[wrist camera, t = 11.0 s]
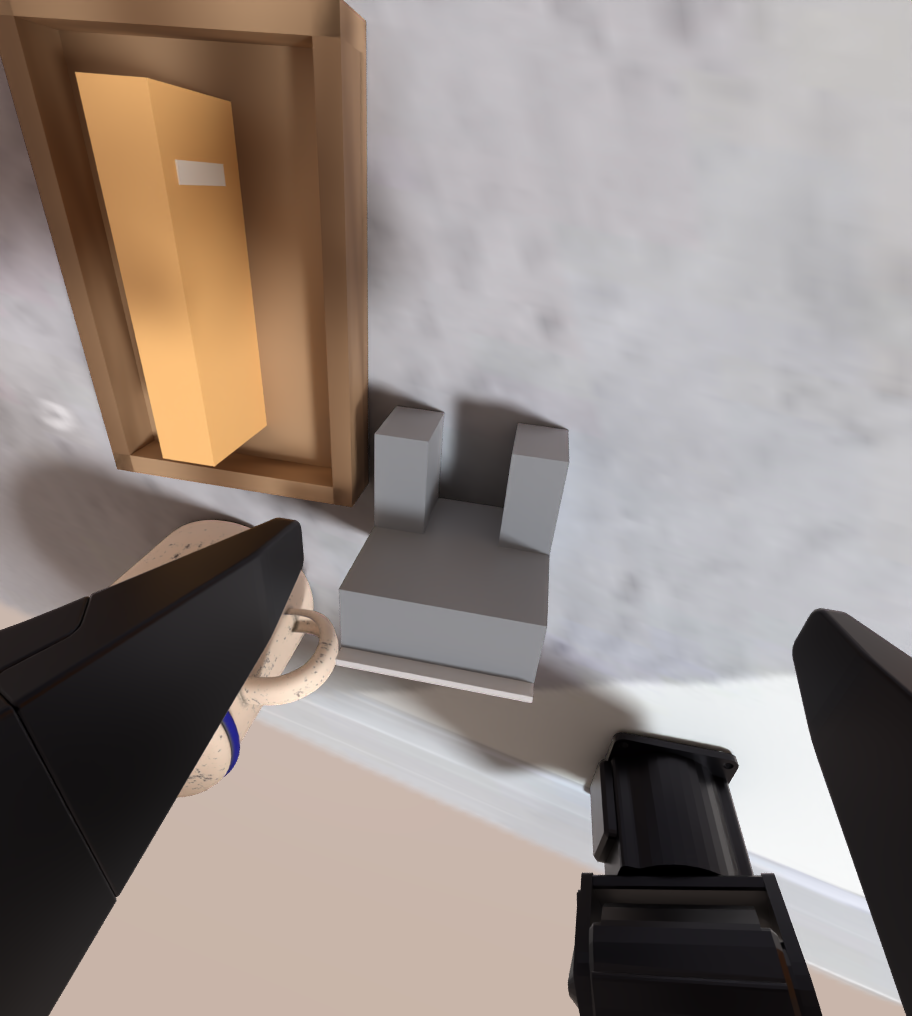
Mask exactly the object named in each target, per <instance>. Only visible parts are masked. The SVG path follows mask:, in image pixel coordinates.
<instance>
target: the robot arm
mask: <svg viewBox="0 0 912 1016" xmlns="http://www.w3.org/2000/svg"><path fill="white" fill-rule="evenodd" d="M303 561H304V554H303V542H302V531H301V526H300V523H299V522H298V521H296V520H290V519H285V518H275V519H272V520H270V521H267V522H265V523H262V524H260V525H258V526H255V527H253V528H250V529H248V530H246V531H243V532H241V533H238V534H236V535H234V536H231V537H229V538H226V539H224V540H221V541H219V542H217V543H214V544H212V545H209V546H207V547H205V548H202V549H200V550H197V551H195V552H192V553H190V554H188V555H185V556H183V557H180V558H178V559H176V560H173V561H171V562H168V563H166V564H163V565H161V566H159V567H156V568H154V569H151V570H149V571H147V572H144V573H142V574H139V575H137V576H134V577H132V578H130V579H127V580H125V581H122V582H120V583H118V584H115V585H113V586H110V587H108V588H106V589H103V590H101V591H98V592H96V593H93V594H92V595H91V596H90V598H89V597H83V598H81V599H79V600H76V601H74V602H72V603H69V604H67V605H64V606H62V607H59V608H57V609H54V610H52V611H49V612H47V613H44V614H42V615H39V616H37V617H34V618H32V619H29V620H27V621H24V622H22V623H19V624H16V625H13V626H10V627H8V628H5V629H2V630H0V1016H49V1014H50V1012H51V1011H52V1009H53V1007H54V1006H55V1004H56V1002H57V1001H58V999H59V997H60V996H61V994H62V992H63V990H64V989H65V987H66V985H67V984H68V982H69V980H70V979H71V977H72V975H73V973H74V972H75V970H76V968H77V967H78V965H79V963H80V962H81V960H82V958H83V957H84V955H85V953H86V952H87V950H88V948H89V946H90V945H91V943H92V941H93V940H94V938H95V936H96V935H97V933H98V931H99V929H100V928H101V926H102V924H103V923H104V921H105V919H106V918H107V916H108V914H109V912H110V911H111V909H112V907H113V906H114V904H115V902H116V897H117V896H119V895H120V893H121V891H122V890H123V888H124V886H125V884H126V883H127V881H128V880H129V878H130V876H131V875H132V873H133V871H134V869H135V868H136V866H137V864H138V863H139V861H140V859H141V858H142V856H143V854H144V853H145V851H146V849H147V847H148V846H149V844H150V842H151V840H152V839H153V837H154V836H155V834H156V832H157V831H158V829H159V827H160V825H161V824H162V822H163V820H164V819H165V817H166V815H167V813H168V812H169V810H170V808H171V807H172V805H173V803H174V802H175V800H176V798H177V797H178V795H179V793H180V792H181V790H182V788H183V786H184V785H185V783H186V781H187V780H188V778H189V776H190V775H191V773H192V771H193V770H194V768H195V766H196V764H197V763H198V761H199V759H200V758H201V756H202V754H203V753H204V751H205V749H206V747H207V746H208V744H209V742H210V741H211V739H212V737H213V736H214V734H215V732H216V731H217V729H218V727H219V725H220V724H221V722H222V720H223V719H224V717H225V715H226V714H227V712H228V710H229V709H230V707H231V705H232V703H233V702H234V700H235V698H236V697H237V695H238V693H239V692H240V690H241V688H242V686H243V685H244V683H245V681H246V680H247V678H248V676H249V675H250V673H251V671H252V670H253V668H254V666H255V664H256V663H257V661H258V659H259V658H260V656H261V654H262V653H263V651H264V649H265V647H266V646H267V644H268V642H269V640H270V638H271V637H272V634H273V632H274V630H275V628H276V626H277V624H278V622H279V619H280V617H281V615H282V613H283V610H284V608H285V606H286V603H287V601H288V599H289V597H290V594H291V592H292V590H293V588H294V585H295V583H296V581H297V579H298V576H299V574H300V572H301V569H302V566H303ZM792 656H793V662H794V666H795V670H796V675H797V679H798V684H799V688H800V693H801V697H802V702H803V706H804V711H805V715H806V720H807V724H808V728H809V732H810V736H811V740H812V743H813V746H814V749H815V753H816V756H817V759H818V762H819V765H820V767H821V770H822V773H823V776H824V779H825V782H826V785H827V788H828V791H829V793H830V796H831V799H832V802H833V805H834V808H835V811H836V814H837V817H838V819H839V822H840V825H841V828H842V831H843V834H844V837H845V840H846V843H847V846H848V848H849V851H850V854H851V857H852V860H853V863H854V866H855V869H856V872H857V874H858V877H859V880H860V883H861V886H862V889H863V892H864V895H865V898H866V901H867V903H868V906H869V909H870V912H871V915H872V918H873V921H874V924H875V927H876V929H877V932H878V935H879V938H880V941H881V944H882V947H883V950H884V953H885V956H886V958H887V961H888V964H889V967H890V970H891V973H892V976H893V979H894V982H895V984H896V987H897V990H898V993H899V996H900V999H901V1002H902V1005H903V1008H904V1010H905V1013H906V1016H912V657H910V656H909V655H907V654H906V653H904V652H903V651H901V650H900V649H898V648H897V647H895V646H894V645H893V644H891V643H890V642H888V641H887V640H885V639H884V638H882V637H881V636H879V635H878V634H876V633H875V632H873V631H872V630H870V629H869V628H868V627H866V626H865V625H863V624H862V623H860V622H859V621H857V620H856V619H854V618H853V617H851V616H850V615H848V614H847V613H844V612H841V611H835V610H829V609H823V608H819V609H816V610H814V611H813V612H812V613H811V614H810V616H809V618H808V619H807V621H806V623H805V624H804V626H803V628H802V630H801V631H800V633H799V635H798V637H797V638H796V640H795V642H794V645H793V650H792ZM738 766H739V765H738V762H737V759H736V757H735V756H734V755H732V754H729V753H724V752H719V751H713V750H708V749H703V748H698V747H693V746H688V745H683V744H678V743H673V742H668V741H663V740H658V739H653V738H647V737H642V736H637V735H632V734H627V733H618V734H616V735H615V736H614V737H613V740H612V742H611V745H610V748H609V750H608V753H607V756H606V758H605V760H602V761H601V762H600V763H599V764H598V767H597V770H596V772H595V775H594V778H593V781H592V783H591V786H590V795H591V815H592V836H593V855H594V857H595V859H596V860H597V861H598V862H602V863H604V864H605V875H593V873H582V875H581V890H578V892H577V916H576V932H575V946H574V952H573V957H572V963H571V968H570V973H569V979H568V991H569V996H570V997H571V999H572V1000H573V1001H574V1003H575V1004H576V1005H577V1007H578V1008H579V1013H580V1016H822V1013H821V1009H820V1006H819V1003H818V1000H817V996H816V993H815V990H814V986H813V983H812V980H811V977H810V974H809V971H808V968H807V965H806V962H805V959H804V957H803V954H802V951H801V948H800V945H799V942H798V940H797V937H796V934H795V931H794V928H793V926H792V923H791V920H790V917H789V914H788V911H787V909H786V906H785V903H784V900H783V897H782V894H781V892H780V889H779V886H778V883H777V880H776V878H775V875H774V873H761V876H754V874H753V870H752V867H751V863H750V860H749V856H748V853H747V849H746V846H745V842H744V839H743V835H742V832H741V828H740V825H739V821H738V818H737V814H736V811H735V807H734V803H733V800H732V796H731V793H730V789H729V786H728V784H729V782H730V781H731V779H732V777H733V776H734V774H735V772H736V771H737V769H738Z"/></svg>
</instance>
